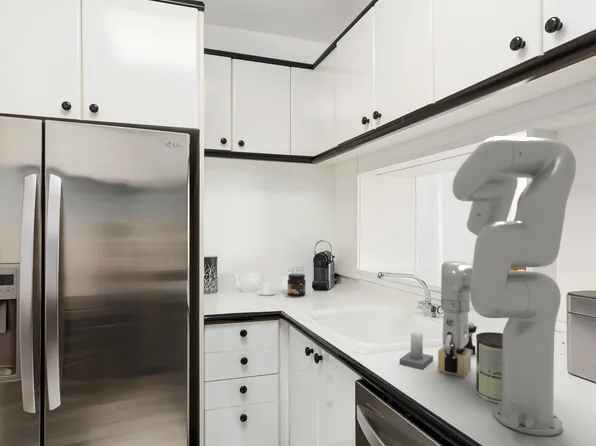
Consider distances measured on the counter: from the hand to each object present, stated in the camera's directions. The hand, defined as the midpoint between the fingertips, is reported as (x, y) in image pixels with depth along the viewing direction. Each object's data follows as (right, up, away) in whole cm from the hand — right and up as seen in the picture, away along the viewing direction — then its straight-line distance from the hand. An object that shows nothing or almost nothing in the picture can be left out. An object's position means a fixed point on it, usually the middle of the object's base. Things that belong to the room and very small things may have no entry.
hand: (454, 367), depth 111 cm
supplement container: (-45, -1, +114) cm, 123 cm away
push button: (+9, -1, +14) cm, 17 cm away
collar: (0, -1, 0) cm, 1 cm away
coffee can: (+4, -1, -16) cm, 16 cm away
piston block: (-9, -1, +6) cm, 11 cm away
